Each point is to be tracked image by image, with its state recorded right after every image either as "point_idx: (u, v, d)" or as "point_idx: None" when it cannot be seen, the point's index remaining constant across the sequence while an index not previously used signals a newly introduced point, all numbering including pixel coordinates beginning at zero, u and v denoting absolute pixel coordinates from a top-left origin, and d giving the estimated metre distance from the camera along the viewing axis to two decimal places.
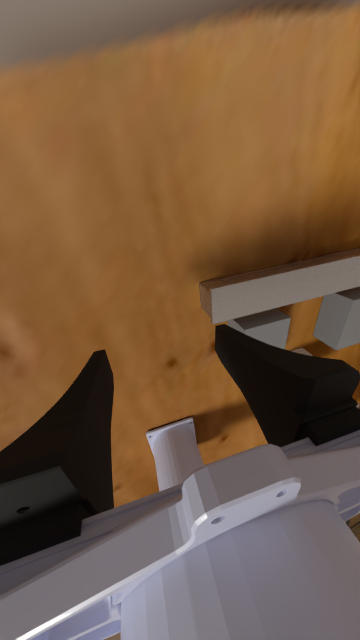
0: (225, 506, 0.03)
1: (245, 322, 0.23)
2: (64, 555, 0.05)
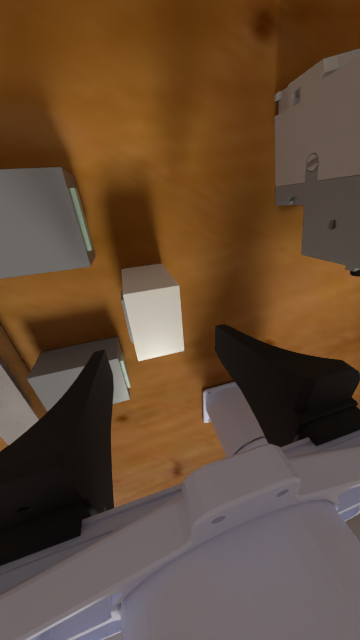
0: (225, 506, 0.03)
1: None
2: (64, 555, 0.05)
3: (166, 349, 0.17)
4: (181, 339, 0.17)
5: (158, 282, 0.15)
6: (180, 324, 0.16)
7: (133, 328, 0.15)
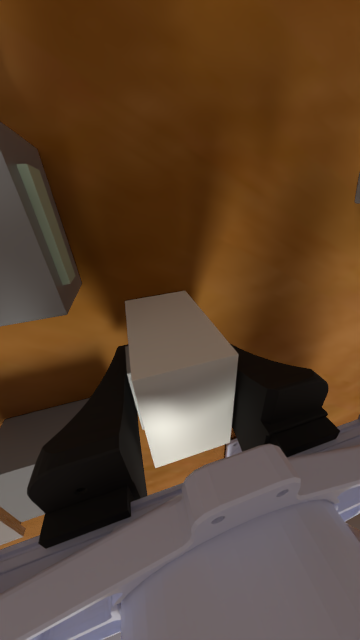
0: (225, 506, 0.03)
1: None
2: (64, 555, 0.05)
3: (201, 446, 0.10)
4: (228, 429, 0.10)
5: (193, 340, 0.08)
6: (230, 410, 0.09)
7: (150, 428, 0.08)
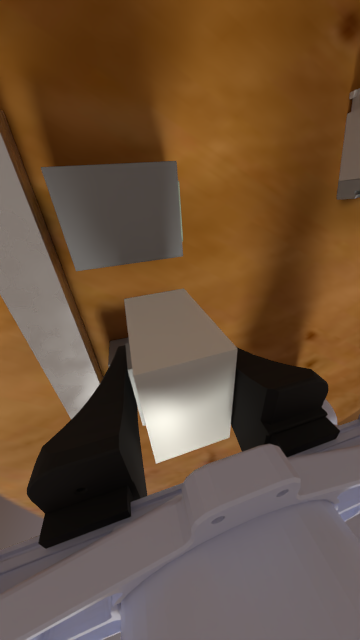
0: (225, 506, 0.03)
1: None
2: (64, 555, 0.05)
3: (201, 441, 0.10)
4: (227, 424, 0.10)
5: (193, 336, 0.09)
6: (229, 405, 0.09)
7: (151, 422, 0.08)
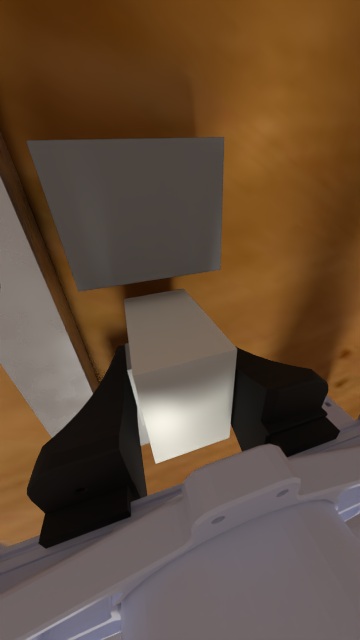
0: (225, 506, 0.03)
1: None
2: (64, 555, 0.05)
3: (201, 441, 0.10)
4: (227, 424, 0.10)
5: (193, 336, 0.09)
6: (229, 405, 0.09)
7: (150, 422, 0.08)
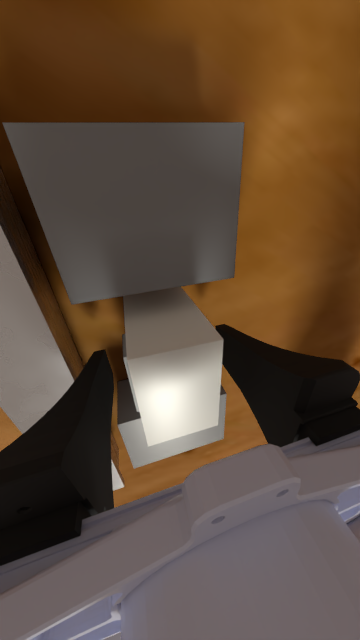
0: (225, 506, 0.03)
1: None
2: (64, 555, 0.05)
3: (191, 427, 0.11)
4: (216, 412, 0.11)
5: (184, 328, 0.09)
6: (217, 393, 0.10)
7: (143, 406, 0.09)
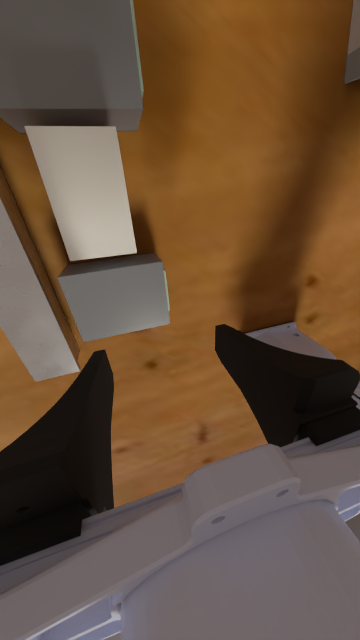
0: (225, 506, 0.03)
1: None
2: (64, 555, 0.05)
3: (109, 246, 0.12)
4: (130, 232, 0.12)
5: None
6: (126, 204, 0.11)
7: (53, 198, 0.10)
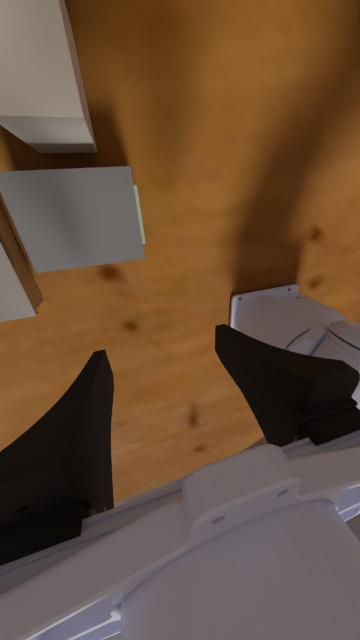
0: (225, 506, 0.03)
1: None
2: (64, 555, 0.05)
3: (42, 99, 0.09)
4: (71, 78, 0.09)
5: None
6: (60, 25, 0.08)
7: None
